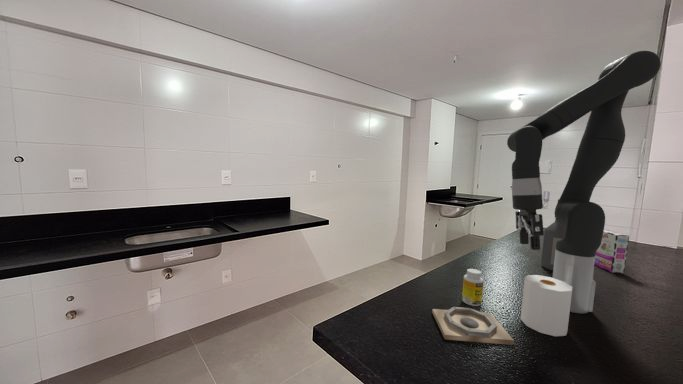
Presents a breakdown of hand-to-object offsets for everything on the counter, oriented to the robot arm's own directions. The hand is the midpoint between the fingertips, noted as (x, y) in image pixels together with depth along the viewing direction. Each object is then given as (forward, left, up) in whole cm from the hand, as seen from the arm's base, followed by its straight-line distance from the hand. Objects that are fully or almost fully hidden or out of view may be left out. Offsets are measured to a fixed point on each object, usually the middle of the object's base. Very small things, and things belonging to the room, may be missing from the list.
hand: (529, 246), depth 82 cm
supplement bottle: (+16, +1, -19) cm, 25 cm away
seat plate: (+22, +15, -19) cm, 32 cm away
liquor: (-33, -35, -19) cm, 52 cm away
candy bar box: (-57, -39, -19) cm, 72 cm away
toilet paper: (+1, +11, -19) cm, 22 cm away
